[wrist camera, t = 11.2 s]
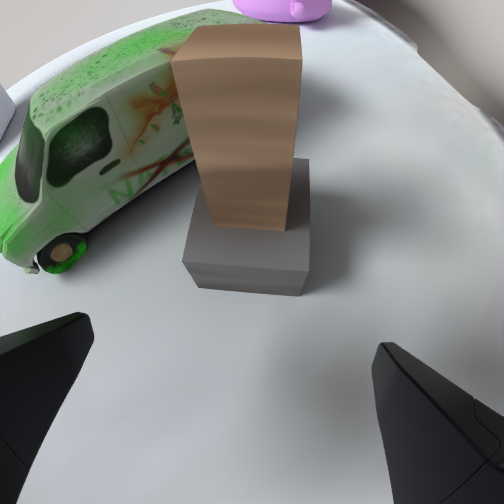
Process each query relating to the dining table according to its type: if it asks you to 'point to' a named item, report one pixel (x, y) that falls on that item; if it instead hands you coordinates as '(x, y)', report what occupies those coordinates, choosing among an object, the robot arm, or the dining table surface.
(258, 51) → the tall wooden pillar block
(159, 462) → the dining table surface
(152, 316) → the dining table surface
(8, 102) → the plastic bottle
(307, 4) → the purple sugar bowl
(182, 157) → the toy car
